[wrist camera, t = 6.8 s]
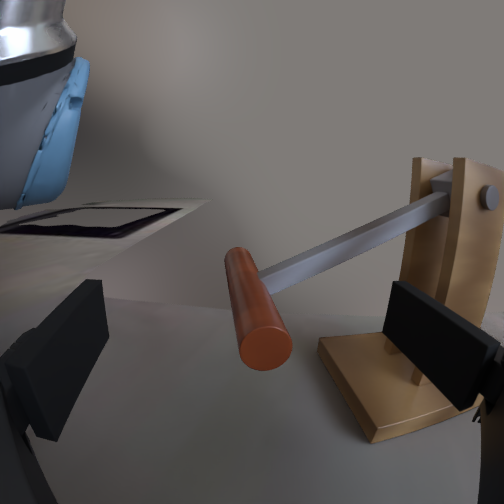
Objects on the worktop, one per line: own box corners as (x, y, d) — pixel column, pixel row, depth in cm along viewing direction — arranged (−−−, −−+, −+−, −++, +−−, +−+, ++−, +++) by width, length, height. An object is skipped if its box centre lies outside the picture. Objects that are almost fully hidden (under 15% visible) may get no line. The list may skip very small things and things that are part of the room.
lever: (254, 384, 10) (226, 332, 10) (232, 281, 21) (218, 249, 20) (539, 217, 11) (534, 174, 10) (426, 194, 21) (419, 165, 20)
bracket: (370, 444, 13) (437, 137, 9) (316, 351, 23) (338, 149, 19) (509, 390, 15) (563, 188, 11) (441, 335, 24) (470, 175, 21)
